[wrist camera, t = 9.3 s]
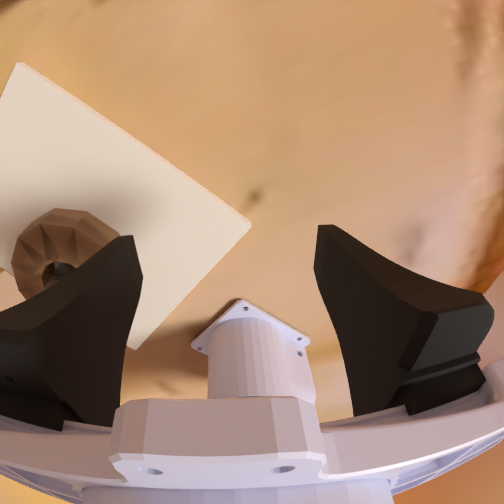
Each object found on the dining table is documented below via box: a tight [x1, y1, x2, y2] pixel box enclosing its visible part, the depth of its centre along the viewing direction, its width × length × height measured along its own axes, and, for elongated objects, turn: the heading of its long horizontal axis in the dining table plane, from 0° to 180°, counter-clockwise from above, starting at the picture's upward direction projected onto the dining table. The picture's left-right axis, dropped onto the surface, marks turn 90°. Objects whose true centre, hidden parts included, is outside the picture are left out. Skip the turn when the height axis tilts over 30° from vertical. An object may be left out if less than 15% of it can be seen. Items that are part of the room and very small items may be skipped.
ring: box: [11, 208, 120, 300], centre depth 22 cm, size 11×11×2 cm
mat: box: [0, 62, 252, 350], centre depth 21 cm, size 22×18×1 cm
